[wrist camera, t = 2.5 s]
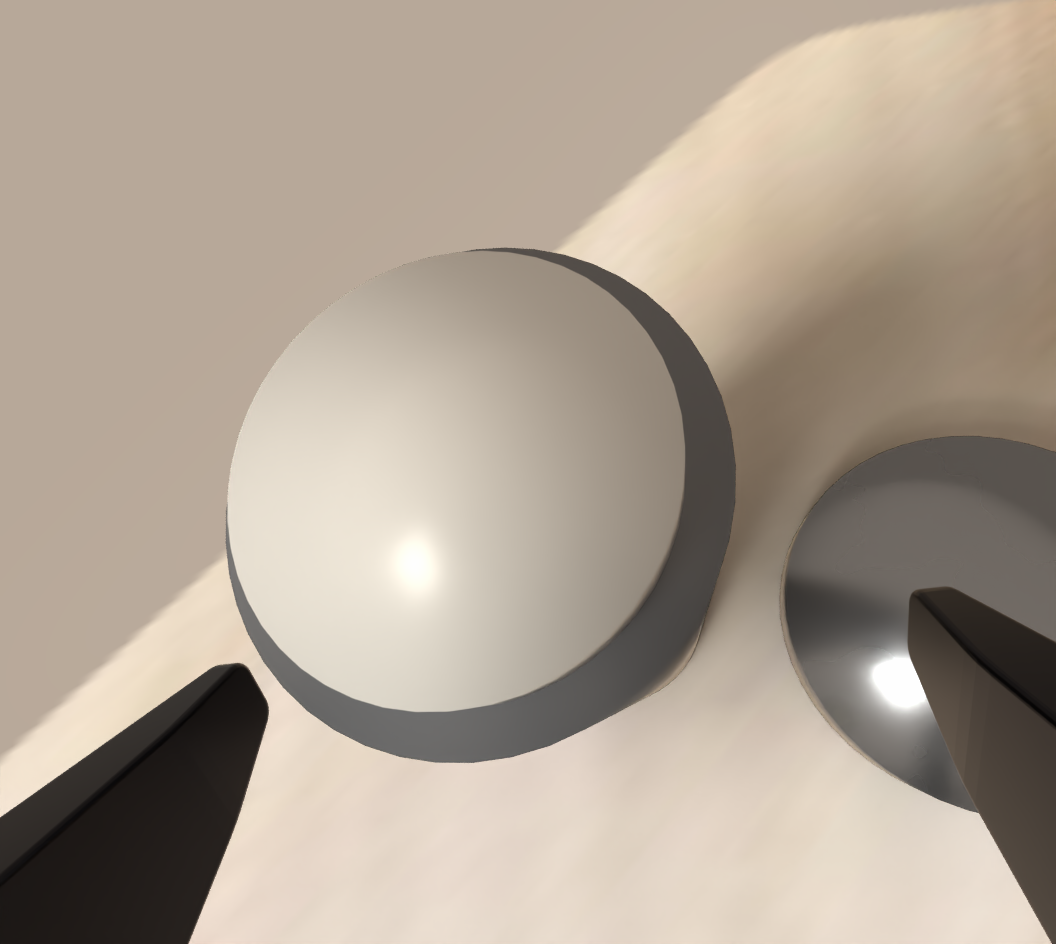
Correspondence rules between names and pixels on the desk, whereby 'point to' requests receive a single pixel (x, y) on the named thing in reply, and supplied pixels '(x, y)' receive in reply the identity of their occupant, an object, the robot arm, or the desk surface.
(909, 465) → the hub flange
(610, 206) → the desk surface
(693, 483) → the dark gray cylinder
